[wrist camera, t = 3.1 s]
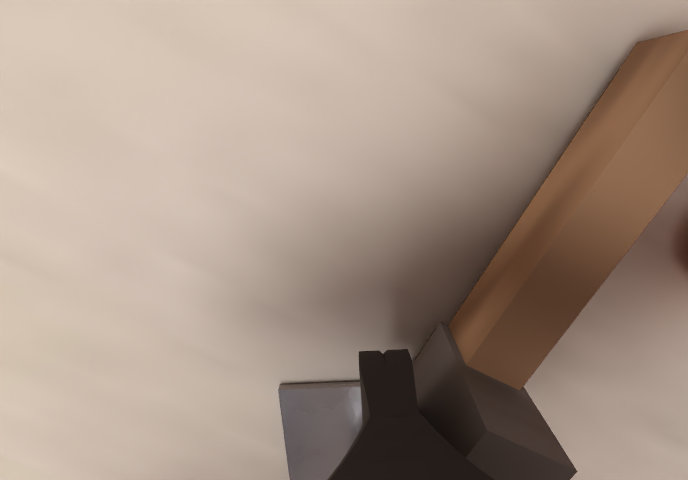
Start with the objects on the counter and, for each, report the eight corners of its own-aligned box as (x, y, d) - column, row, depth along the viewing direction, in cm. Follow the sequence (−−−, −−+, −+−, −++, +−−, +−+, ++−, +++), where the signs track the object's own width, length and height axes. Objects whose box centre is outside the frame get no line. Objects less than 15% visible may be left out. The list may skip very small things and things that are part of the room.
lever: (461, 461, 15) (509, 612, 10) (373, 422, 15) (384, 563, 10) (734, 104, 11) (1001, 96, 7) (628, 36, 11) (833, -21, 6)
